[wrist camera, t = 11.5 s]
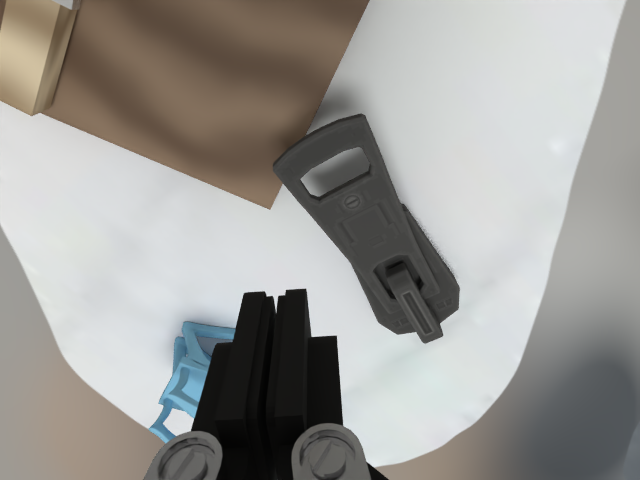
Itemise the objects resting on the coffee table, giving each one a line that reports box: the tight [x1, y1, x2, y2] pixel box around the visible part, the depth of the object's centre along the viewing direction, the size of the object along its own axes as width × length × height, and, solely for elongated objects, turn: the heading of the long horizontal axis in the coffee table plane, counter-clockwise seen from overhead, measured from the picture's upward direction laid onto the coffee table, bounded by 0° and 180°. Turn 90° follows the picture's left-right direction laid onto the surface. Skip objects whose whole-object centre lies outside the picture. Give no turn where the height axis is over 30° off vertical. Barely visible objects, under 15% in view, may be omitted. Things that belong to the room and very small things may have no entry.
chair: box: [149, 322, 235, 443], centre depth 43 cm, size 8×8×12 cm
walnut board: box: [0, 0, 369, 209], centre depth 31 cm, size 22×24×2 cm
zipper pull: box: [273, 114, 460, 343], centre depth 38 cm, size 9×7×25 cm
